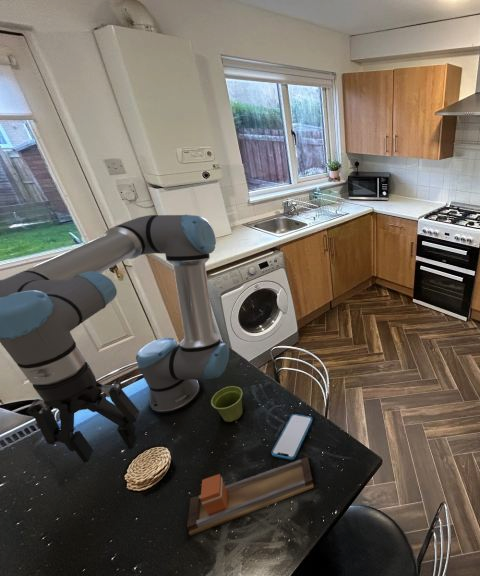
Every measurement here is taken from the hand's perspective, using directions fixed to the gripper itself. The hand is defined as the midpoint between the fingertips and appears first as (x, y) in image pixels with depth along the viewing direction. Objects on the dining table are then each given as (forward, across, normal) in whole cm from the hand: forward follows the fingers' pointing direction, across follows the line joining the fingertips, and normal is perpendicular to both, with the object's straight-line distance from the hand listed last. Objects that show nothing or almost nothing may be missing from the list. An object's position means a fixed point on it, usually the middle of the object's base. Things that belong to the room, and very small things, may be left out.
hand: (111, 449), depth 68 cm
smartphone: (+25, +37, +8) cm, 46 cm away
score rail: (+25, +25, -6) cm, 36 cm away
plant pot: (+25, +19, +24) cm, 40 cm away
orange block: (+24, +17, -6) cm, 30 cm away
